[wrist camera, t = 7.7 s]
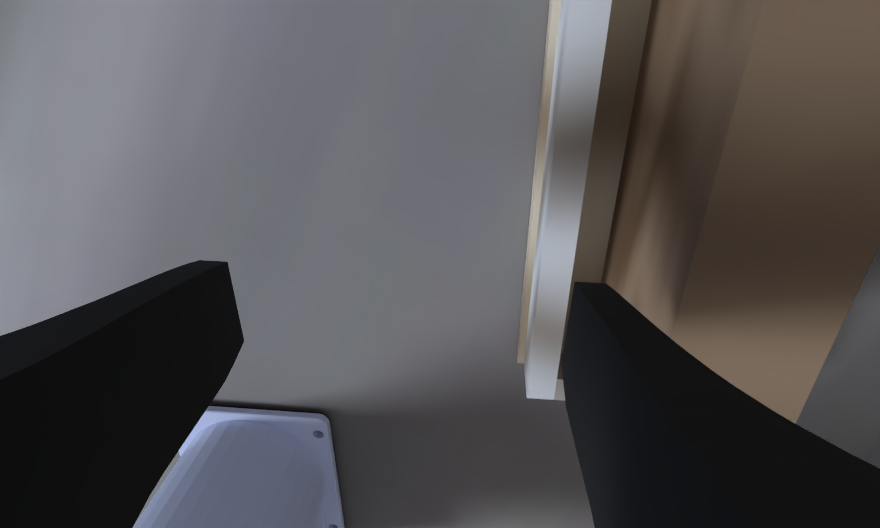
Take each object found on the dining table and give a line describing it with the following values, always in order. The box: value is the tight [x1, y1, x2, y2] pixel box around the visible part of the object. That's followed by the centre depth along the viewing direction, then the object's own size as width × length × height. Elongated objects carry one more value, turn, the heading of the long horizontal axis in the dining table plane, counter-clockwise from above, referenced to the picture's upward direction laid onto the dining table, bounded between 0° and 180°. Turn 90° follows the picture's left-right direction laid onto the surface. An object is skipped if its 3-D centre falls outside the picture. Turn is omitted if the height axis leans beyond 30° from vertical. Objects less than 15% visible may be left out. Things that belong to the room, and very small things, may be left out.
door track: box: [517, 0, 652, 401], centre depth 15 cm, size 18×9×3 cm, turn 0°
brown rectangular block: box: [601, 0, 880, 424], centre depth 13 cm, size 12×4×6 cm, turn 0°
